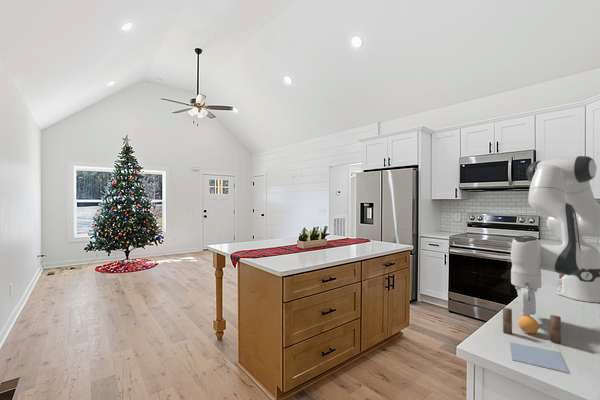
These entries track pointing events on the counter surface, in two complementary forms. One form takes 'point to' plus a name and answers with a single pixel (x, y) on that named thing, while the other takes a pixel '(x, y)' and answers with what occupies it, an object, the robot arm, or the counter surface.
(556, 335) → the post
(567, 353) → the counter surface
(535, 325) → the ball
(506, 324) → the post
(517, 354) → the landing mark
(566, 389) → the counter surface
